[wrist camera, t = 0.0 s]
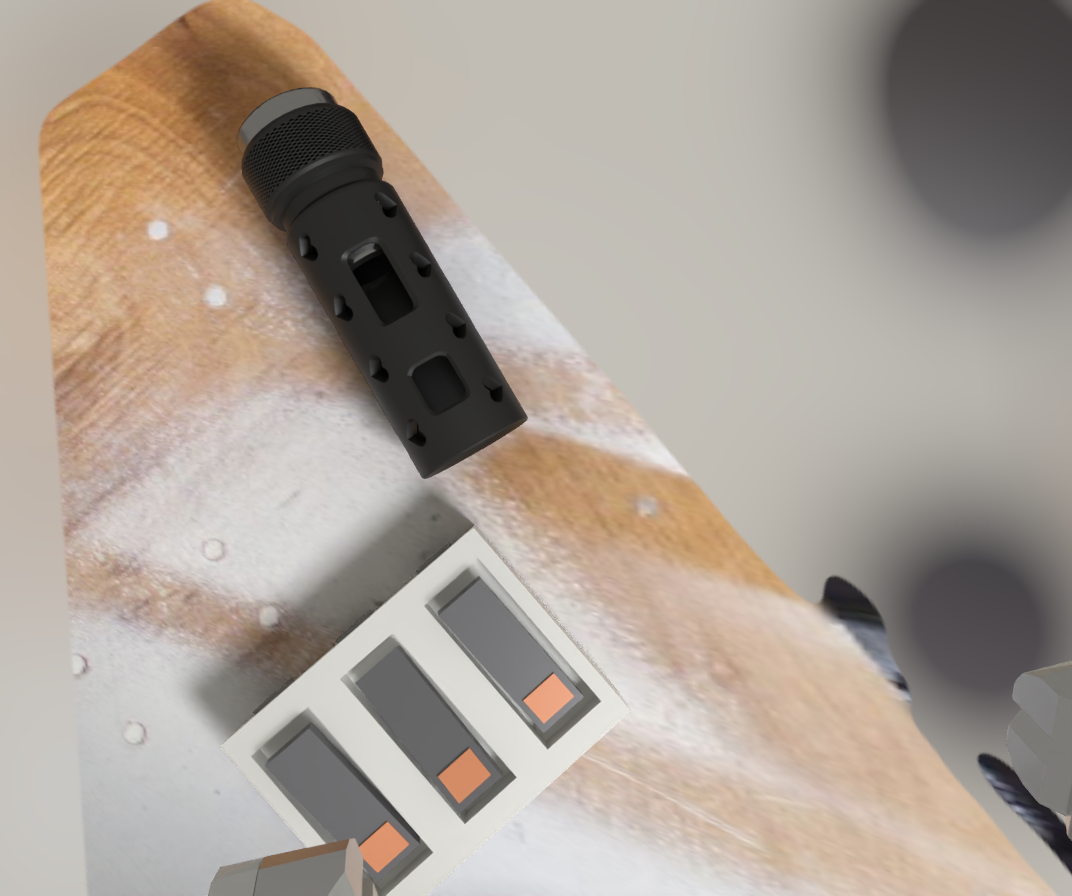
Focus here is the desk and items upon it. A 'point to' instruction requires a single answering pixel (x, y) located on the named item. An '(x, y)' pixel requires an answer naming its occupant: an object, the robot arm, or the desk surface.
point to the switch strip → (463, 686)
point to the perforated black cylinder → (376, 278)
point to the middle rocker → (429, 729)
